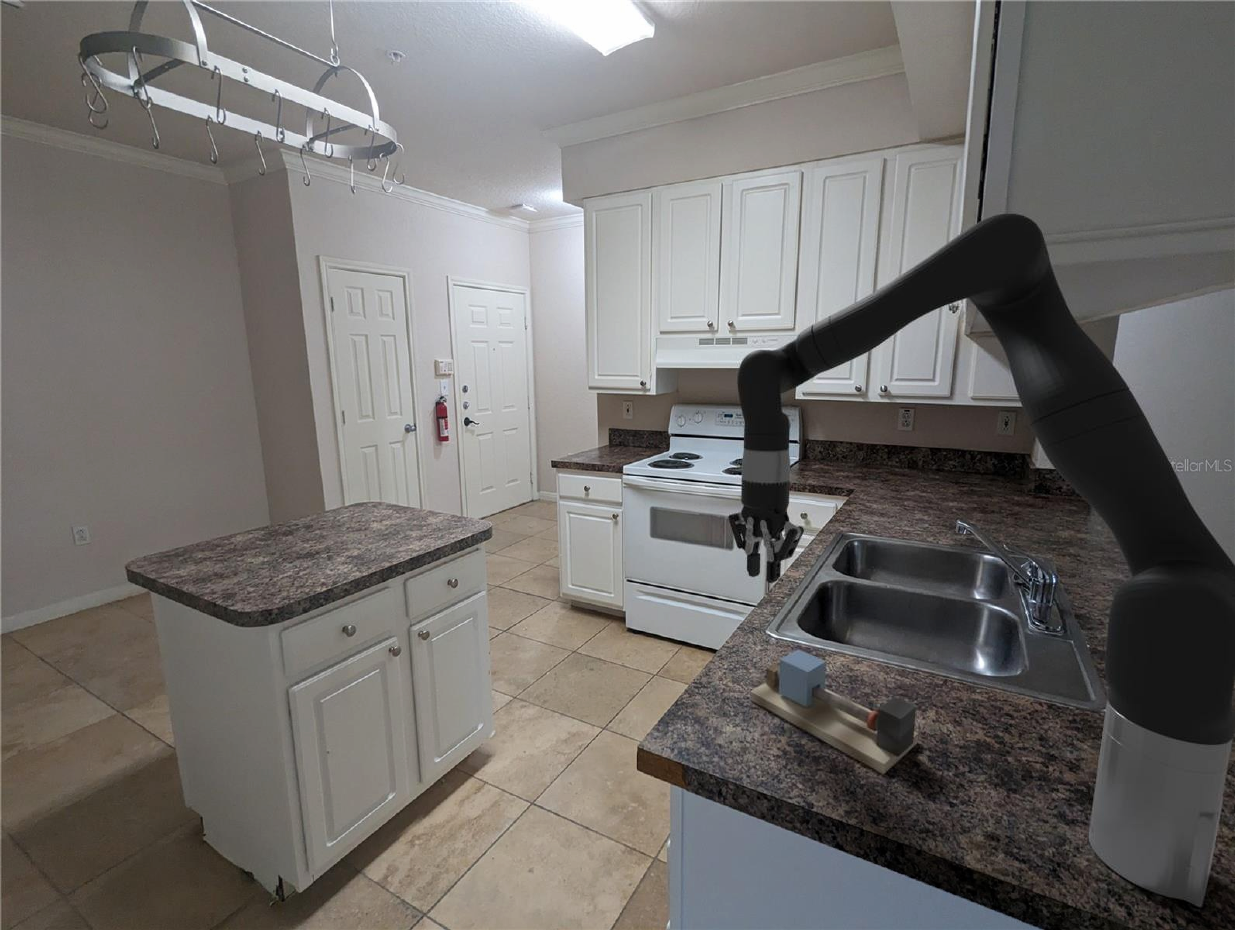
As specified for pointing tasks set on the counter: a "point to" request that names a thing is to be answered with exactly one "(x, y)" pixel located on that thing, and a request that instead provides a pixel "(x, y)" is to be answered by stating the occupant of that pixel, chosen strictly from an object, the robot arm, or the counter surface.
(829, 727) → the rail board
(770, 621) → the counter surface
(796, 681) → the blue sleeve
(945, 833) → the counter surface
